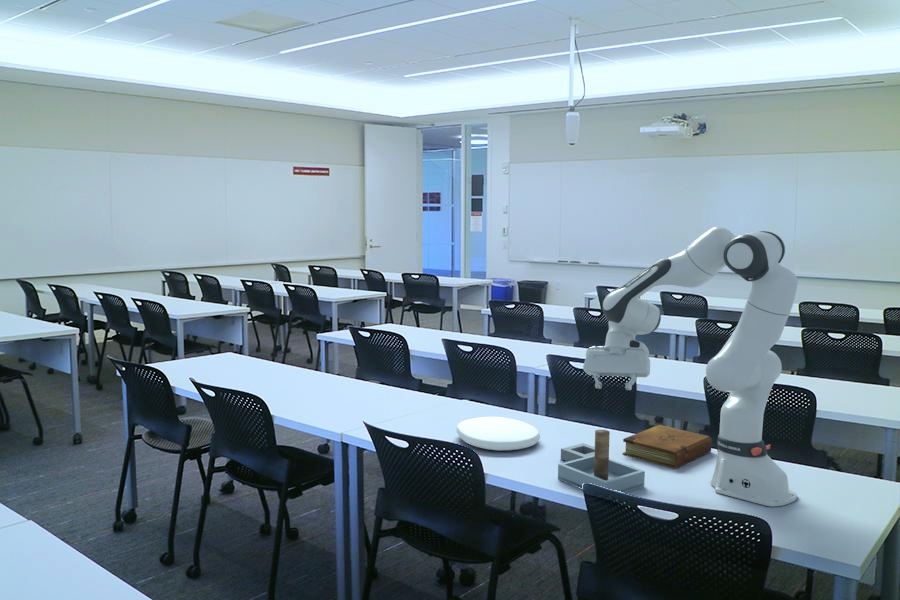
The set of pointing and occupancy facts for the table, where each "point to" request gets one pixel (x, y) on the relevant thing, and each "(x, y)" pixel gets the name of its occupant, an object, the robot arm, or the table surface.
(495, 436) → the plate
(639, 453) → the diary
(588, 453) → the socket block
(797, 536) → the table surface
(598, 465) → the dowel
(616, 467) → the tray
